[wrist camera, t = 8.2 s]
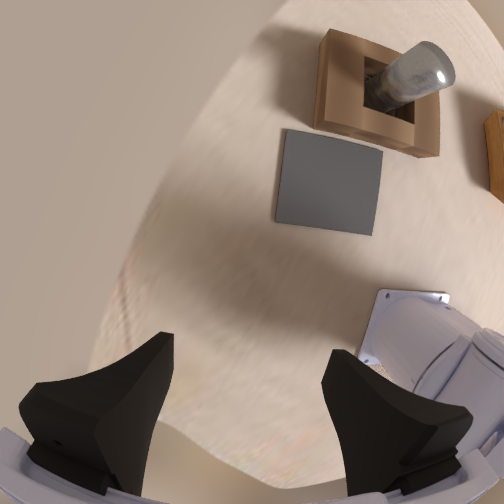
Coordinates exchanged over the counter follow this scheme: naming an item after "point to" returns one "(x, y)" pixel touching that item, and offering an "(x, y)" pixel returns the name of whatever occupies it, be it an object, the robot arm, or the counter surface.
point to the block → (352, 97)
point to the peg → (409, 78)
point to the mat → (328, 183)
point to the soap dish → (496, 153)
